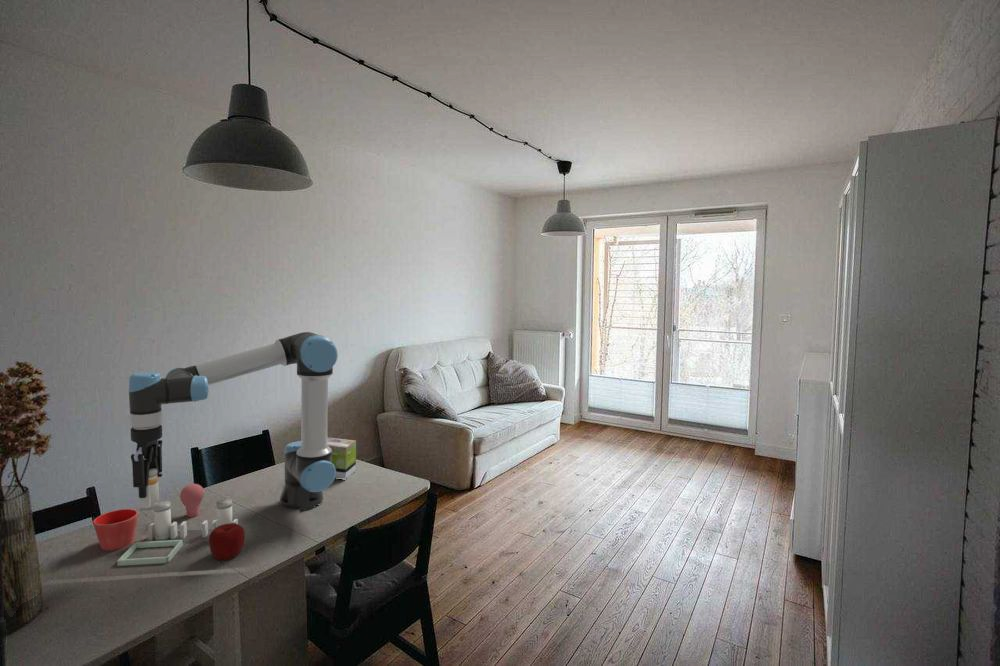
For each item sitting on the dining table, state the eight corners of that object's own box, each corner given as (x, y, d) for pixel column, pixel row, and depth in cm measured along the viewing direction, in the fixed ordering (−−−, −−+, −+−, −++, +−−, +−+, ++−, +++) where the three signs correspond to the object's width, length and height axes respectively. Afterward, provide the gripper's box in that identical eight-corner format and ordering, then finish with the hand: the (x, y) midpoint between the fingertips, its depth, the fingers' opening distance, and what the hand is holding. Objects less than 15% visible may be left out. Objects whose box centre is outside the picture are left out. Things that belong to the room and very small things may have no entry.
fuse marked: (161, 503, 153) (160, 467, 152) (154, 510, 149) (152, 473, 147) (144, 503, 152) (143, 468, 151) (136, 510, 148) (135, 474, 147)
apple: (221, 548, 159) (220, 517, 158) (251, 549, 159) (250, 519, 157) (202, 565, 149) (201, 532, 148) (234, 567, 149) (234, 534, 148)
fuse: (174, 533, 164) (173, 500, 163) (168, 540, 160) (166, 507, 159) (158, 534, 164) (157, 501, 162) (152, 541, 159) (150, 507, 158)
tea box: (312, 477, 215) (312, 443, 214) (324, 468, 225) (324, 436, 223) (345, 481, 213) (346, 446, 211) (356, 472, 223) (356, 439, 221)
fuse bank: (243, 530, 170) (243, 514, 169) (236, 543, 162) (235, 526, 161) (153, 535, 165) (153, 518, 164) (141, 548, 157) (140, 531, 156)
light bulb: (193, 524, 173) (192, 490, 172) (175, 521, 174) (174, 487, 173) (209, 514, 180) (208, 481, 178) (192, 512, 181) (191, 479, 180)
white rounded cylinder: (234, 530, 168) (234, 498, 166) (230, 537, 163) (229, 504, 162) (219, 531, 167) (219, 499, 166) (214, 538, 162) (214, 505, 161)
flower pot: (101, 541, 160) (99, 511, 159) (142, 535, 165) (141, 506, 164) (89, 558, 151) (87, 527, 150) (134, 551, 155) (133, 521, 154)
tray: (183, 547, 158) (183, 539, 158) (168, 565, 149) (168, 557, 148) (135, 550, 156) (135, 542, 156) (117, 569, 146) (117, 560, 146)
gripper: (146, 417, 156) (149, 491, 158) (115, 435, 138) (118, 517, 141) (174, 417, 157) (176, 490, 160) (145, 435, 140) (148, 516, 142)
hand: (149, 503), depth 150 cm, fingers closed on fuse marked, 4 cm apart
